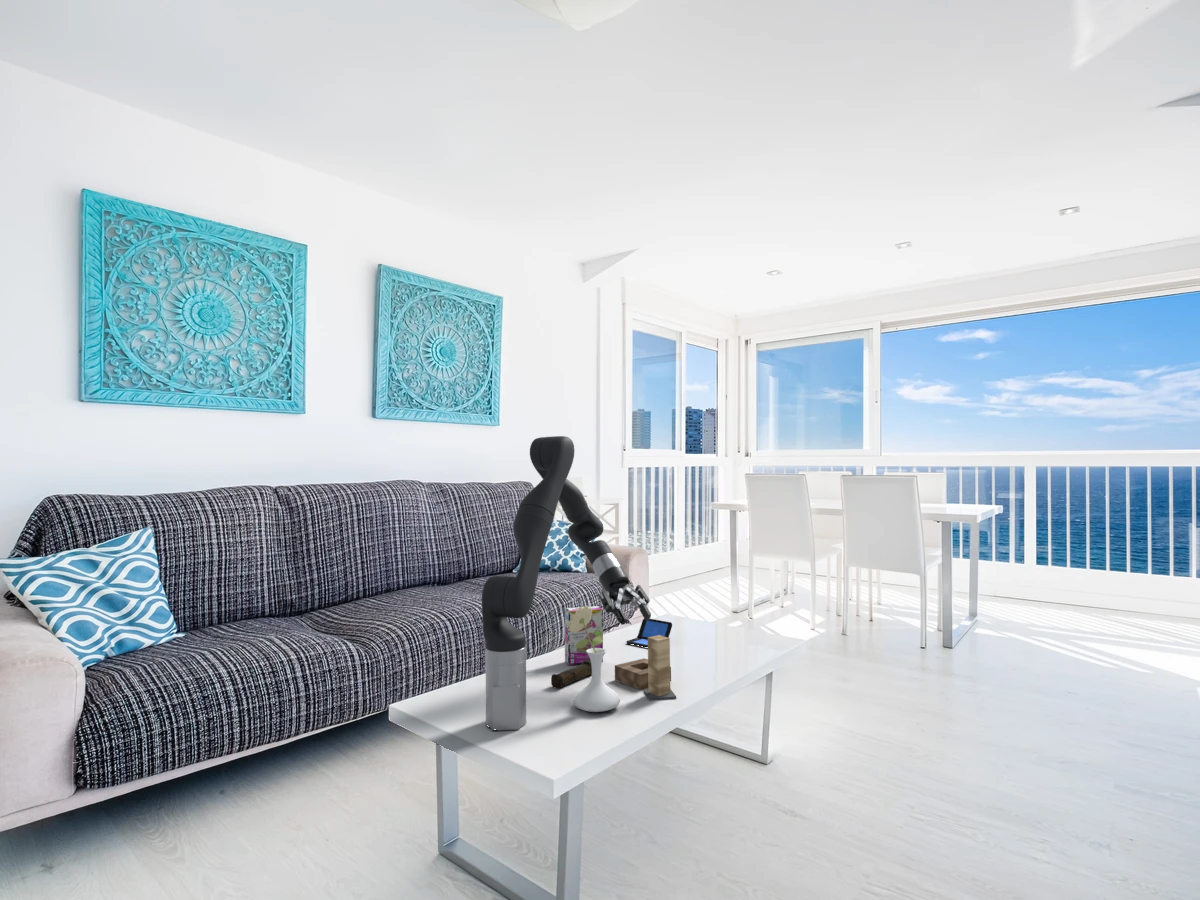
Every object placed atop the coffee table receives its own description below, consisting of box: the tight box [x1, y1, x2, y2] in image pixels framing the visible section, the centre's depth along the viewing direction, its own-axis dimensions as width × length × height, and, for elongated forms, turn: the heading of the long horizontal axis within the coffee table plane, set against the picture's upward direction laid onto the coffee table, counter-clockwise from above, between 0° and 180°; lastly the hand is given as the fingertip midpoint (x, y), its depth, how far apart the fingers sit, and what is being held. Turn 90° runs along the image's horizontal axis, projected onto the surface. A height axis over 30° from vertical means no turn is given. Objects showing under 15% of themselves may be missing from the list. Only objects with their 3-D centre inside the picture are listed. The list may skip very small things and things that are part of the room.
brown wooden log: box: [550, 659, 592, 690], centre depth 177 cm, size 19×4×5 cm, turn 140°
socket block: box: [614, 658, 672, 691], centre depth 175 cm, size 11×11×4 cm
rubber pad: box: [643, 688, 677, 701], centre depth 163 cm, size 7×7×1 cm
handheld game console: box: [625, 618, 673, 647], centre depth 215 cm, size 12×11×7 cm
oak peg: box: [647, 635, 672, 696], centre depth 164 cm, size 4×4×14 cm
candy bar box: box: [564, 605, 604, 666], centre depth 194 cm, size 11×5×16 cm, turn 108°
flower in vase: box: [567, 605, 621, 713], centre depth 154 cm, size 13×11×25 cm
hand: (636, 620), depth 171 cm, fingers open, 8 cm apart
